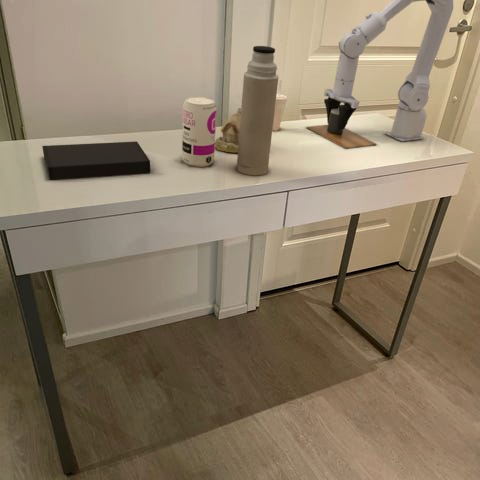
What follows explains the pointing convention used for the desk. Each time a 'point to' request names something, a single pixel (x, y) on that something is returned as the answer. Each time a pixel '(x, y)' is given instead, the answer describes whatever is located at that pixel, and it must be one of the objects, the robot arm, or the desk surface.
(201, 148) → the supplement can
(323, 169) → the desk surface
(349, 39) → the robot arm
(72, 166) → the external hard drive
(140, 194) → the desk surface
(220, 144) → the ceramic model
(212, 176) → the desk surface
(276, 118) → the smoothie
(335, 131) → the thermos cap
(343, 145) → the brown wooden board
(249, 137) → the thermos bottle
